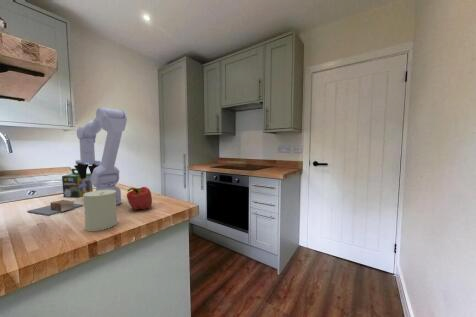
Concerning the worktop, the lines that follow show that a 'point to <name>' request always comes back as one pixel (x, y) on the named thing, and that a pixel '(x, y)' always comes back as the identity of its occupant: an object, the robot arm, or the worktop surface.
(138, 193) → the vegetable
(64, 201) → the block
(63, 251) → the worktop surface
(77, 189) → the chalk box
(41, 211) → the mat
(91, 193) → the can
